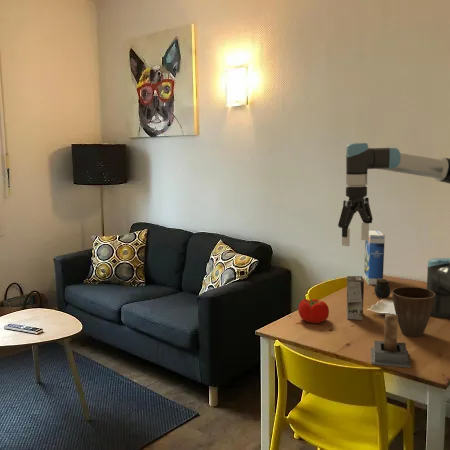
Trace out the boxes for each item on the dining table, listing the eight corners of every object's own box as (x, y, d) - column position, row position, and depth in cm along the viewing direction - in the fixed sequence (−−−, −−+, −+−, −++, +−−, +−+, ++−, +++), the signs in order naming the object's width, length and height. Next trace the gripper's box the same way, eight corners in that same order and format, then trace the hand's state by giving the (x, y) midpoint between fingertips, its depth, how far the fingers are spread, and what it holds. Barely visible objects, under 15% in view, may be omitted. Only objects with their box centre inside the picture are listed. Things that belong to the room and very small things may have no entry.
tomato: (335, 320, 201) (335, 300, 200) (317, 328, 192) (317, 307, 191) (309, 313, 210) (310, 293, 209) (291, 320, 201) (291, 300, 200)
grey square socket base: (407, 352, 168) (408, 342, 168) (410, 368, 157) (411, 356, 156) (370, 349, 171) (371, 339, 171) (371, 364, 160) (371, 353, 159)
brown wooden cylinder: (395, 354, 165) (397, 314, 163) (396, 359, 162) (398, 318, 159) (383, 353, 166) (384, 313, 164) (383, 357, 163) (385, 317, 160)
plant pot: (411, 343, 176) (412, 300, 173) (382, 330, 189) (383, 289, 187) (442, 336, 182) (444, 294, 179) (412, 323, 195) (413, 284, 193)
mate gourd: (392, 299, 227) (393, 277, 226) (376, 299, 227) (376, 278, 226) (387, 294, 234) (388, 273, 233) (371, 294, 234) (372, 274, 233)
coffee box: (363, 320, 200) (364, 281, 198) (346, 319, 202) (347, 281, 199) (361, 312, 209) (362, 275, 207) (346, 312, 210) (346, 275, 208)
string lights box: (363, 278, 264) (365, 230, 260) (378, 278, 263) (379, 230, 259) (368, 284, 251) (369, 234, 247) (383, 285, 250) (385, 234, 246)
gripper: (364, 183, 192) (363, 236, 195) (328, 188, 175) (328, 246, 178) (382, 183, 186) (381, 239, 190) (347, 188, 169) (346, 249, 173)
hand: (355, 242), depth 184 cm, fingers open, 13 cm apart
